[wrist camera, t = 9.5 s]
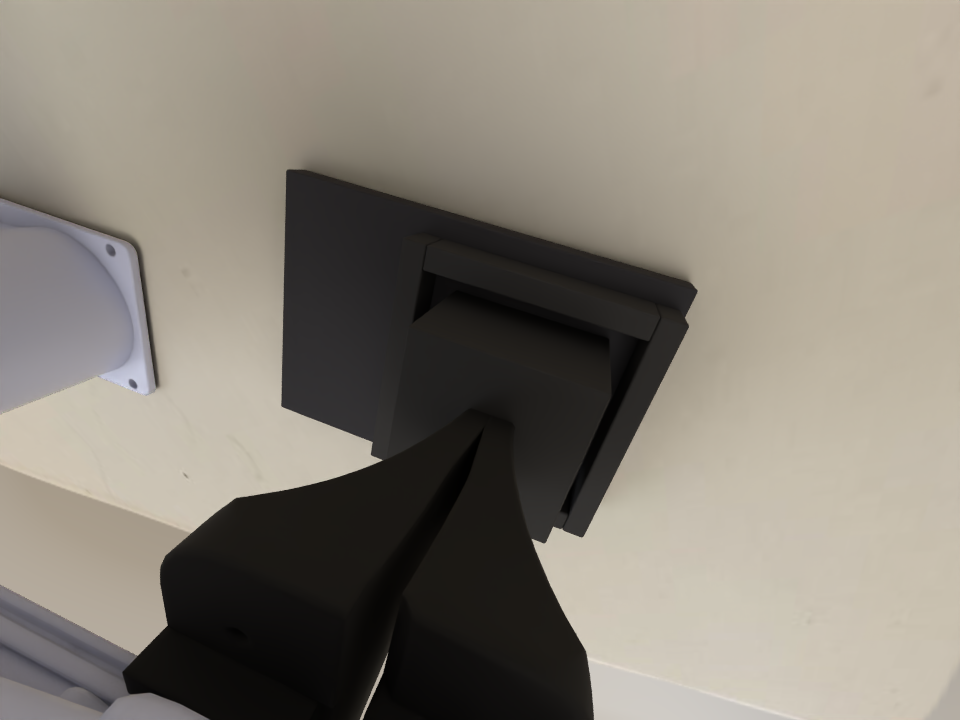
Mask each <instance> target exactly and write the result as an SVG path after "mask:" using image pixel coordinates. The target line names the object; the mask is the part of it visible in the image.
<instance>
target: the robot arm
mask: <svg viewBox="0 0 960 720" xmlns="http://www.w3.org/2000/svg"><path fill="white" fill-rule="evenodd" d="M95 377H100V378H102V379H105V380H107V381H110V382H112V383H115V384H117V385H120V386H122V387H125V388H127V389H130V390H132V391H135V392H137V393H140V394H142V395H149V394H151V393H153V392H155V390H156V385H155V378H154V371H153V363H152V356H151V349H150V342H149V335H148V328H147V321H146V313H145V306H144V299H143V292H142V285H141V278H140V270H139V263H138V256H137V252H136V250H135V248H134V247H133V246H132V245H131V244H130V243H128V242H127V241H124V240H121V239H118V238H115V237H112V236H110V235H107V234H104V233H101V232H98V231H95V230H92V229H89V228H86V227H83V226H80V225H77V224H75V223H72V222H69V221H66V220H63V219H60V218H57V217H54V216H51V215H48V214H45V213H43V212H40V211H37V210H34V209H31V208H28V207H25V206H22V205H19V204H16V203H13V202H10V201H8V200H5V199H2V198H0V414H3V413H5V412H8V411H10V410H13V409H15V408H18V407H21V406H23V405H26V404H28V403H31V402H33V401H36V400H38V399H41V398H44V397H46V396H49V395H51V394H54V393H56V392H59V391H62V390H64V389H67V388H69V387H72V386H74V385H77V384H79V383H82V382H85V381H87V380H90V379H92V378H95ZM514 430H515V427H514V425H513V423H511V422H508V421H505V420H502V419H500V418H497V417H494V416H491V415H489V414H486V413H483V412H480V411H477V410H475V409H472V408H470V409H467V410H466V411H464V412H463V413H462V414H461V415H459V416H458V417H457V418H455V419H454V420H453V421H451V422H450V423H448V424H447V425H445V426H444V427H443V428H441V429H439V430H438V431H436V432H435V433H433V434H432V435H430V436H429V437H427V438H425V439H424V440H422V441H420V442H418V443H416V444H415V445H413V446H411V447H409V448H407V449H406V450H404V451H402V452H400V453H398V454H396V455H394V456H392V457H390V458H387V459H385V460H383V461H381V462H378V463H376V464H374V465H371V466H369V467H366V468H363V469H361V470H358V471H355V472H352V473H349V474H346V475H343V476H340V477H337V478H334V479H330V480H327V481H323V482H319V483H315V484H311V485H307V486H303V487H298V488H294V489H289V490H284V491H278V492H272V493H266V494H260V495H254V496H248V497H240V498H236V499H234V500H233V501H232V502H230V503H229V504H228V505H226V506H225V507H223V508H222V509H221V510H219V511H218V512H216V513H215V514H214V515H213V516H211V517H210V518H209V519H208V520H207V521H205V522H204V523H203V524H202V525H201V526H200V527H198V528H197V529H196V530H195V531H194V532H193V533H191V534H190V535H189V536H188V537H187V538H186V539H184V540H183V541H182V542H181V543H180V544H179V545H177V546H176V547H175V548H174V549H173V550H172V551H171V552H170V553H168V554H167V555H166V556H165V558H164V560H163V562H162V565H161V569H160V585H161V589H162V596H163V601H164V607H165V612H166V618H167V623H168V626H167V627H166V628H165V629H164V630H163V631H162V632H161V633H160V634H159V635H158V636H157V637H156V638H155V639H154V640H153V641H152V642H151V643H150V644H149V645H148V646H147V647H146V648H145V649H144V650H143V651H142V652H141V653H140V654H139V655H138V656H137V655H135V654H133V653H130V652H129V651H127V650H125V649H123V648H121V647H119V646H117V645H115V644H113V643H111V642H110V641H108V640H105V639H104V638H102V637H100V636H98V635H96V634H94V633H92V632H90V631H88V630H86V629H85V628H82V627H81V626H79V625H77V624H75V623H73V622H71V621H69V620H67V619H65V618H63V617H61V616H59V615H57V614H56V613H54V612H51V611H50V610H48V609H46V608H44V607H42V606H40V605H38V604H36V603H34V602H32V601H30V600H29V599H27V598H25V597H23V596H21V595H19V594H17V593H15V592H13V591H11V590H9V589H7V588H5V587H4V586H1V585H0V720H360V717H361V715H362V713H363V710H364V708H365V705H366V703H367V701H368V698H369V696H370V694H371V691H372V689H373V686H374V684H375V682H376V679H377V677H378V675H379V672H380V670H381V667H382V665H383V663H384V661H385V658H386V656H387V653H388V656H387V660H386V664H385V668H384V673H383V675H382V677H381V679H380V682H379V684H378V686H377V688H376V691H375V693H374V695H373V697H372V699H371V702H370V704H369V706H368V708H367V710H366V713H365V715H364V718H363V720H594V713H593V702H592V689H591V681H590V673H589V667H588V660H587V654H586V651H585V649H584V647H583V645H582V644H581V642H580V640H579V639H578V637H577V635H576V633H575V632H574V630H573V628H572V627H571V625H570V623H569V621H568V620H567V618H566V616H565V614H564V612H563V610H562V608H561V606H560V604H559V602H558V600H557V598H556V596H555V594H554V592H553V590H552V588H551V586H550V584H549V582H548V579H547V577H546V574H545V572H544V570H543V567H542V565H541V563H540V560H539V558H538V555H537V553H536V551H535V548H534V545H533V542H532V539H531V536H530V533H529V530H528V527H527V524H526V520H525V517H524V513H523V509H522V505H521V501H520V496H519V491H518V486H517V480H516V473H515V464H514V452H513V438H514Z"/></svg>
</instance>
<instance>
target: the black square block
mask: <svg viewBox="0 0 960 720" xmlns="http://www.w3.org/2000/svg"><path fill="white" fill-rule="evenodd" d="M611 396H612V395H611V368H610V341H609V339H608V338H605V337H602V336H599V335H595V334H592V333H589V332H586V331H583V330H580V329H577V328H573V327H570V326H567V325H564V324H561V323H558V322H555V321H552V320H548V319H545V318H542V317H539V316H536V315H533V314H530V313H527V312H523V311H520V310H517V309H514V308H511V307H508V306H505V305H501V304H498V303H495V302H492V301H489V300H486V299H483V298H480V297H476V296H473V295H470V294H467V293H464V292H461V291H458V290H456V291H455V292H453V293H452V294H451V295H449V296H448V297H447V298H445V299H444V300H443V301H441V302H440V303H439V304H437V305H436V306H435V307H433V308H432V309H431V310H429V311H428V312H427V313H425V314H424V315H423V316H422V317H420V318H419V319H418V320H416V321H415V322H414V323H412V324H411V325H410V326H409V327H408V332H407V338H406V344H405V349H404V355H403V361H402V367H401V373H400V379H399V385H398V391H397V396H396V402H395V408H394V414H393V420H392V426H391V432H390V438H389V443H388V449H387V455H386V459H387V458H390V457H392V456H394V455H396V454H398V453H400V452H402V451H404V450H406V449H407V448H409V447H411V446H413V445H415V444H416V443H418V442H420V441H422V440H424V439H425V438H427V437H429V436H430V435H432V434H433V433H435V432H436V431H438V430H439V429H441V428H443V427H444V426H445V425H447V424H448V423H450V422H451V421H453V420H454V419H455V418H457V417H458V416H459V415H461V414H462V413H463V412H464V411H466V410H467V409H470V408H472V409H475V410H477V411H480V412H483V413H486V414H489V415H491V416H494V417H497V418H500V419H502V420H505V421H508V422H511V423H513V425H514V427H515V430H514V438H513V452H514V464H515V473H516V480H517V486H518V491H519V496H520V501H521V505H522V509H523V513H524V517H525V520H526V524H527V527H528V530H529V533H530V536H531V538H532V539H534V540H537V541H539V542H542V543H546V541H547V539H548V537H549V534H550V532H551V530H552V528H553V526H554V523H555V521H556V519H557V517H558V514H559V512H560V510H561V508H562V505H563V503H564V501H565V499H566V497H567V494H568V492H569V490H570V488H571V485H572V483H573V481H574V479H575V476H576V474H577V472H578V470H579V468H580V465H581V463H582V461H583V459H584V456H585V454H586V452H587V450H588V447H589V445H590V443H591V441H592V438H593V436H594V434H595V432H596V430H597V427H598V425H599V423H600V421H601V418H602V416H603V414H604V412H605V409H606V407H607V405H608V403H609V401H610V398H611Z"/></svg>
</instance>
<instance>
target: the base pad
mask: <svg viewBox="0 0 960 720" xmlns="http://www.w3.org/2000/svg"><path fill="white" fill-rule="evenodd" d="M456 290H458V291H461V292H464V293H467V294H470V295H473V296H476V297H480V298H483V299H486V300H489V301H492V302H495V303H498V304H501V305H505V306H508V307H511V308H514V309H517V310H520V311H523V312H527V313H530V314H533V315H536V316H539V317H542V318H545V319H548V320H552V321H555V322H558V323H561V324H564V325H567V326H570V327H573V328H577V329H580V330H583V331H586V332H589V333H592V334H595V335H599V336H602V337H605V338H608V339H609V341H610V368H611V395H612V396H611V398H610V401H609V403H608V405H607V407H606V409H605V412H604V414H603V416H602V418H601V421H600V423H599V425H598V427H597V430H596V432H595V434H594V436H593V438H592V441H591V443H590V445H589V447H588V450H587V452H586V454H585V456H584V459H583V461H582V463H581V465H580V468H579V470H578V472H577V474H576V476H575V479H574V481H573V483H572V485H571V488H570V490H569V492H568V494H567V497H566V499H565V501H564V503H563V505H562V508H561V510H560V512H559V514H558V517H557V519H556V521H555V523H554V527H556V528H559V529H562V528H563V530H564V531H566V532H569V533H571V534H574V535H576V536H579V537H583V536H584V535H585V533H586V531H587V529H588V527H589V525H590V523H591V521H592V519H593V517H594V515H595V513H596V511H597V509H598V507H599V505H600V503H601V501H602V499H603V497H604V495H605V493H606V491H607V489H608V487H609V485H610V483H611V481H612V479H613V477H614V475H615V473H616V471H617V469H618V467H619V465H620V463H621V461H622V459H623V457H624V455H625V453H626V451H627V449H628V447H629V445H630V443H631V441H632V439H633V437H634V435H635V433H636V431H637V429H638V427H639V425H640V423H641V421H642V419H643V417H644V415H645V413H646V411H647V409H648V407H649V405H650V403H651V401H652V400H653V398H654V396H655V394H656V392H657V390H658V388H659V386H660V384H661V382H662V380H663V378H664V376H665V374H666V372H667V370H668V368H669V366H670V364H671V362H672V360H673V358H674V356H675V354H676V352H677V350H678V348H679V346H680V344H681V342H682V340H683V338H684V336H685V334H686V332H687V330H688V328H689V325H688V323H687V321H686V320H685V316H686V314H687V312H688V310H689V308H690V306H691V304H692V302H693V300H694V298H695V296H696V294H697V289H696V288H695V287H694V286H693V285H692V284H691V283H689V282H686V281H682V280H679V279H676V278H672V277H669V276H665V275H662V274H658V273H655V272H652V271H648V270H645V269H641V268H638V267H635V266H631V265H628V264H624V263H621V262H617V261H614V260H611V259H607V258H604V257H600V256H597V255H594V254H590V253H587V252H583V251H580V250H576V249H573V248H570V247H566V246H563V245H559V244H556V243H553V242H549V241H546V240H542V239H539V238H535V237H532V236H529V235H525V234H522V233H518V232H515V231H512V230H508V229H505V228H501V227H498V226H494V225H491V224H488V223H484V222H481V221H477V220H474V219H471V218H467V217H464V216H460V215H457V214H453V213H450V212H447V211H443V210H440V209H436V208H433V207H430V206H426V205H423V204H419V203H416V202H412V201H409V200H406V199H402V198H399V197H395V196H392V195H389V194H385V193H382V192H378V191H375V190H371V189H368V188H365V187H361V186H358V185H354V184H351V183H348V182H344V181H341V180H337V179H334V178H330V177H327V176H324V175H320V174H317V173H313V172H310V171H307V170H287V171H286V217H285V263H284V310H283V357H282V403H281V406H282V407H284V408H286V409H289V410H291V411H294V412H297V413H299V414H302V415H304V416H307V417H309V418H312V419H315V420H317V421H320V422H322V423H325V424H328V425H330V426H333V427H335V428H338V429H341V430H343V431H346V432H348V433H351V434H353V435H356V436H359V437H361V438H364V439H366V440H369V441H372V442H373V444H372V451H371V455H372V456H374V457H377V458H379V459H382V460H385V459H386V455H387V449H388V443H389V438H390V432H391V426H392V420H393V414H394V408H395V402H396V396H397V391H398V385H399V379H400V373H401V367H402V361H403V355H404V349H405V344H406V338H407V332H408V327H409V326H410V325H411V324H412V323H414V322H415V321H416V320H418V319H419V318H420V317H422V316H423V315H424V314H425V313H427V312H428V311H429V310H431V309H432V308H433V307H435V306H436V305H437V304H439V303H440V302H441V301H443V300H444V299H445V298H447V297H448V296H449V295H451V294H452V293H453V292H455V291H456Z"/></svg>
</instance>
